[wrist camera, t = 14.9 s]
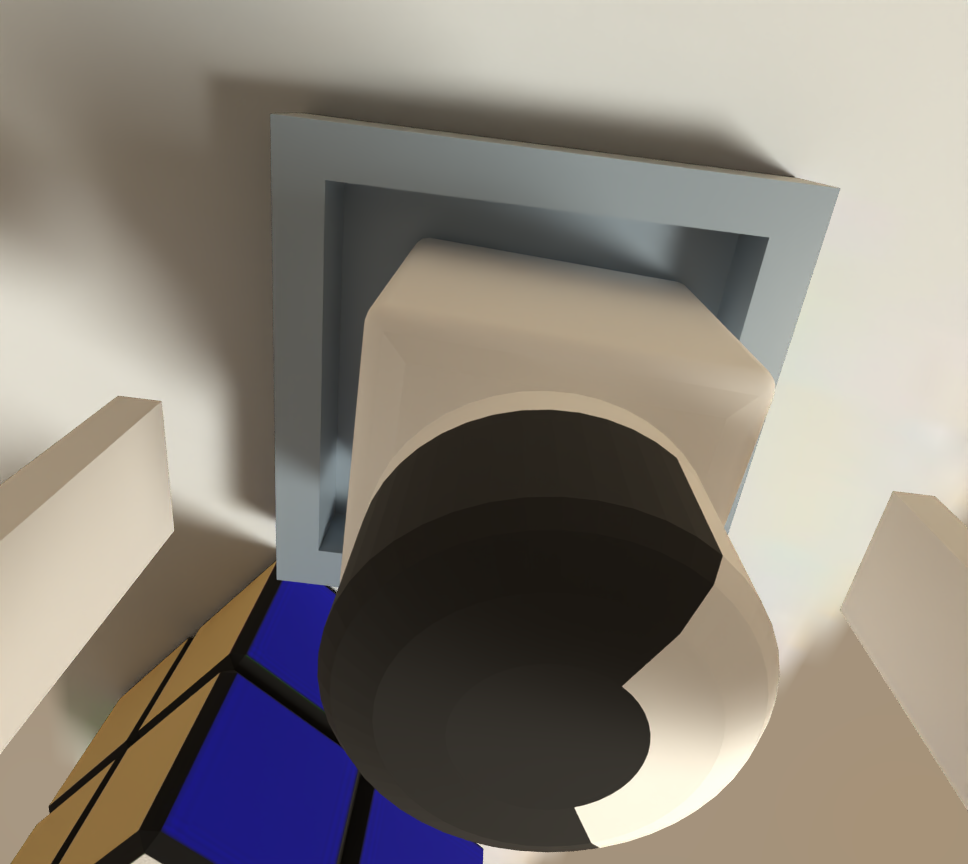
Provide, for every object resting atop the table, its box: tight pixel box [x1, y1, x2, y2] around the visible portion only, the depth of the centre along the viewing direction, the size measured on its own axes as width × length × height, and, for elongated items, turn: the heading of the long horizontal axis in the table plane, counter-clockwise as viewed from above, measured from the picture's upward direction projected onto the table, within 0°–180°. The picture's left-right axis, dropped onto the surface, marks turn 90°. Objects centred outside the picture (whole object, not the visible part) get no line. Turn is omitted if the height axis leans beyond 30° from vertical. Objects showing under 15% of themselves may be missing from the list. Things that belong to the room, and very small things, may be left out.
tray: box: [270, 113, 840, 587], centre depth 19 cm, size 12×12×2 cm
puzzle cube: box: [11, 561, 483, 864], centre depth 21 cm, size 10×10×10 cm
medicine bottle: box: [317, 238, 780, 852], centre depth 14 cm, size 7×7×12 cm
